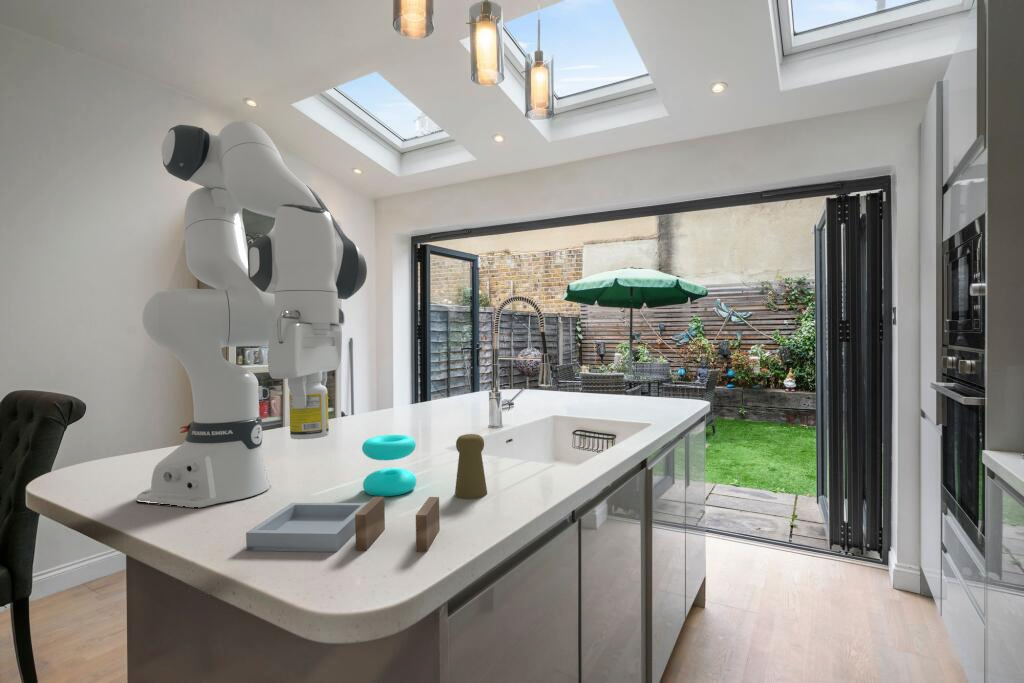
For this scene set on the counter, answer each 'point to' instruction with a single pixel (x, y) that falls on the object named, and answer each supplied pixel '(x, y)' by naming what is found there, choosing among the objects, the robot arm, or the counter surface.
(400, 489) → the donuts
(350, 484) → the counter surface
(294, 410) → the supplement bottle
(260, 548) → the grey tray
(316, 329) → the robot arm
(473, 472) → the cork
